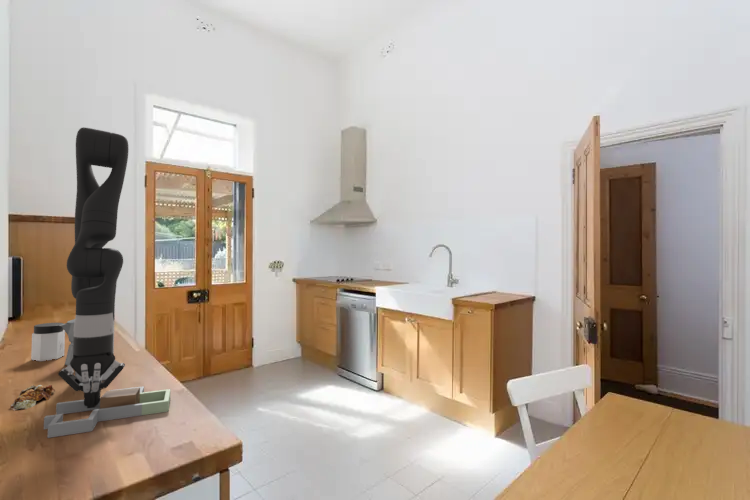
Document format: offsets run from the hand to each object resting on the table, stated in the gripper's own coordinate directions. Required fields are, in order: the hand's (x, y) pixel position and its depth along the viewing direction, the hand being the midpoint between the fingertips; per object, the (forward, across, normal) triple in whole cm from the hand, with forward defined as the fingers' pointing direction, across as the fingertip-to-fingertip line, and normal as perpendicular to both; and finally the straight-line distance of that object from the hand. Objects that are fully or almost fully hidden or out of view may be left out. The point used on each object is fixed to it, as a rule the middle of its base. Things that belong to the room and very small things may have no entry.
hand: (91, 406), depth 88 cm
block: (+2, -6, 0) cm, 6 cm away
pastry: (+3, +16, -17) cm, 23 cm away
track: (+2, -4, 0) cm, 5 cm away
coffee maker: (+2, +13, -53) cm, 55 cm away
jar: (+2, +26, -64) cm, 69 cm away
